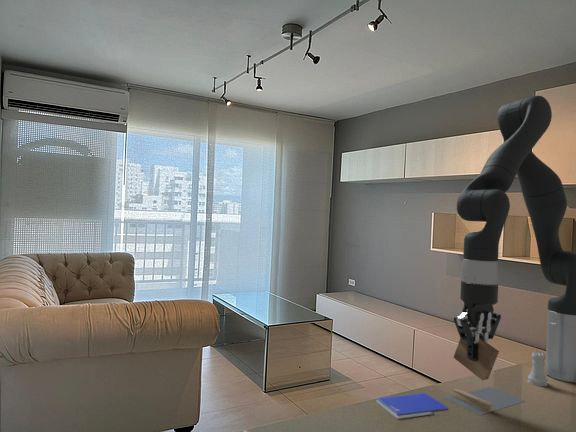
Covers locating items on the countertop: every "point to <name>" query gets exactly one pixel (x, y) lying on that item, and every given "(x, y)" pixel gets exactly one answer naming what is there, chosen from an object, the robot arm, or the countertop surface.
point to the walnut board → (484, 361)
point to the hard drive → (410, 405)
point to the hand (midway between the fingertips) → (476, 359)
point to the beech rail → (473, 400)
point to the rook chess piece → (538, 370)
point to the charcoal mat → (488, 400)
